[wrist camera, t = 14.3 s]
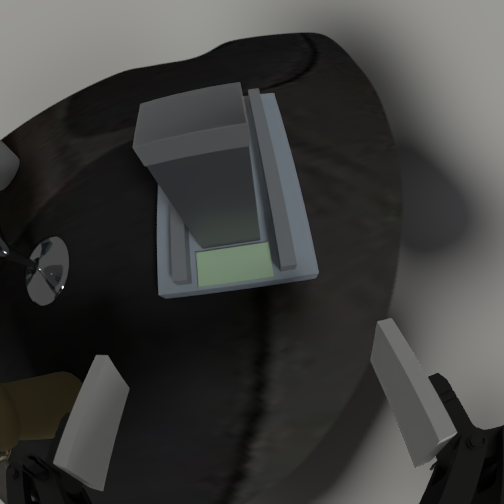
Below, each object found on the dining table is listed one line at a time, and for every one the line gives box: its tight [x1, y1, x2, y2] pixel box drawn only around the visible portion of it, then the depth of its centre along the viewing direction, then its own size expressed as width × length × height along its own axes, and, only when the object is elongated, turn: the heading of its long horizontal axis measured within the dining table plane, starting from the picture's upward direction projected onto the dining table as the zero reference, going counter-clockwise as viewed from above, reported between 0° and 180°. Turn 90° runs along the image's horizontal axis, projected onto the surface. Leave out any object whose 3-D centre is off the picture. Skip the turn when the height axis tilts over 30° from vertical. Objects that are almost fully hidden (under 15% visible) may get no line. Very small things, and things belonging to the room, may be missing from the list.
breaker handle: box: [133, 82, 261, 249], centre depth 14 cm, size 2×4×11 cm, turn 97°
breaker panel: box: [157, 88, 319, 299], centre depth 22 cm, size 18×11×3 cm, turn 7°
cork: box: [0, 371, 83, 452], centre depth 12 cm, size 6×6×11 cm
